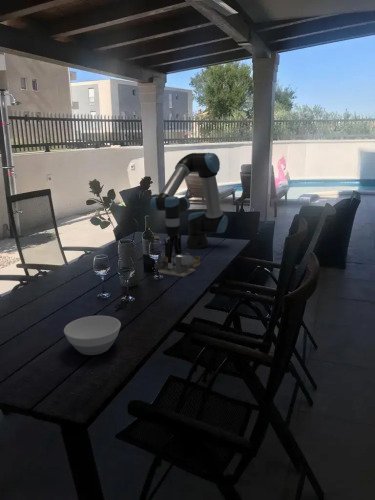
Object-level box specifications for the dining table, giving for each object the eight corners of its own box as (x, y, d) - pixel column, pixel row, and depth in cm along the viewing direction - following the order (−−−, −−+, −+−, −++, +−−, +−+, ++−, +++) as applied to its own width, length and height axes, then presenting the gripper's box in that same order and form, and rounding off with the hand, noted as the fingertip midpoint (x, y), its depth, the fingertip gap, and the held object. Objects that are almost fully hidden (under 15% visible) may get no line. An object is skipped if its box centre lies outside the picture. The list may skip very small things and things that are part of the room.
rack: (164, 264, 252) (164, 256, 251) (172, 260, 260) (172, 253, 259) (192, 268, 243) (192, 260, 242) (200, 264, 251) (200, 256, 250)
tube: (154, 263, 240) (153, 252, 239) (160, 260, 245) (160, 250, 244) (188, 268, 229) (188, 257, 228) (194, 265, 234) (193, 254, 233)
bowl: (133, 346, 153) (132, 324, 151) (87, 368, 139) (85, 344, 137) (99, 331, 165) (98, 311, 163) (54, 350, 151) (52, 328, 149)
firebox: (149, 271, 239) (149, 254, 237) (161, 265, 249) (161, 249, 247) (183, 276, 228) (183, 258, 226) (195, 270, 238) (194, 253, 236)
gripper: (176, 222, 242) (177, 261, 247) (156, 228, 226) (158, 270, 232) (187, 223, 238) (188, 263, 244) (168, 229, 222) (170, 272, 228)
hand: (174, 266), depth 238 cm, fingers closed on tube, 6 cm apart
